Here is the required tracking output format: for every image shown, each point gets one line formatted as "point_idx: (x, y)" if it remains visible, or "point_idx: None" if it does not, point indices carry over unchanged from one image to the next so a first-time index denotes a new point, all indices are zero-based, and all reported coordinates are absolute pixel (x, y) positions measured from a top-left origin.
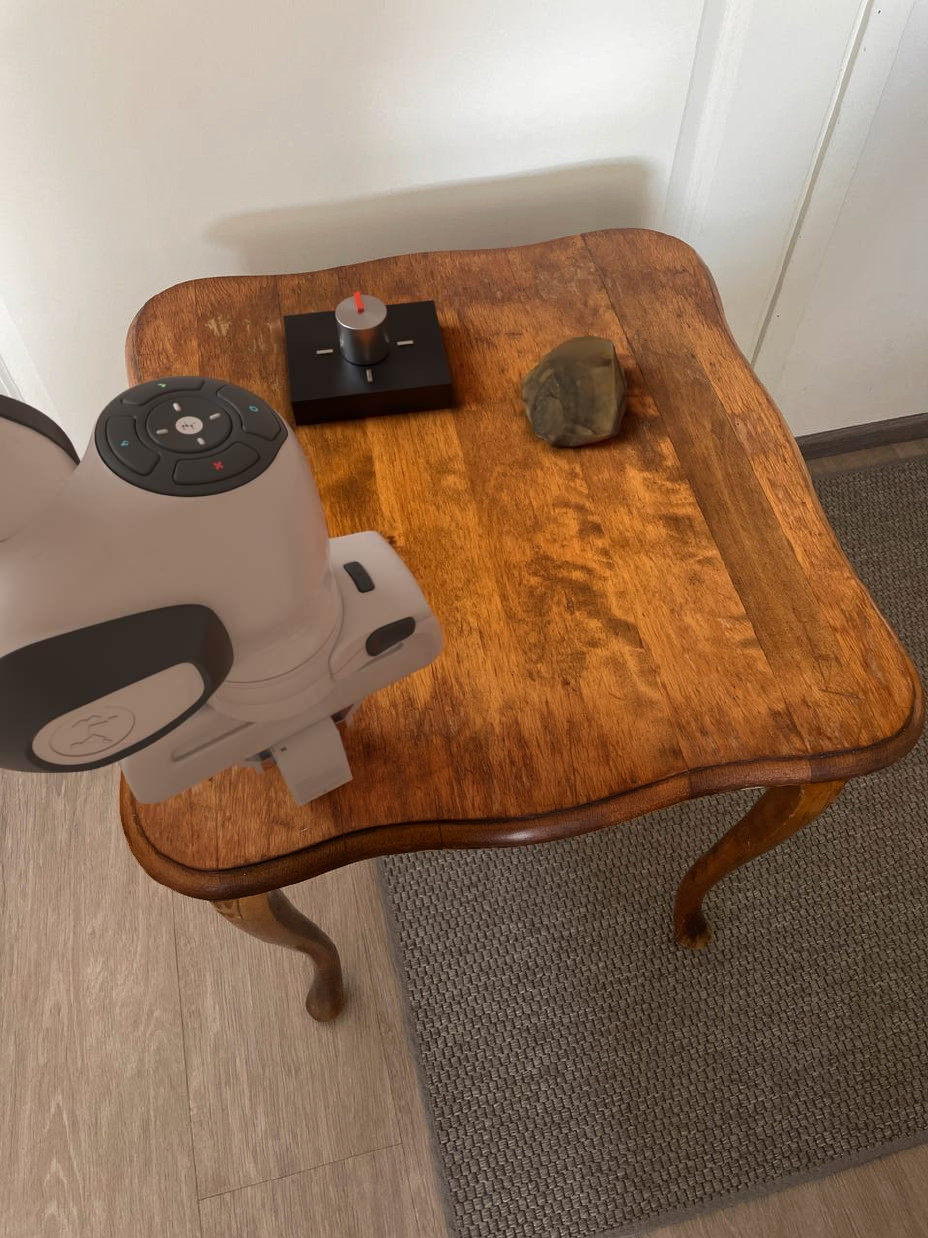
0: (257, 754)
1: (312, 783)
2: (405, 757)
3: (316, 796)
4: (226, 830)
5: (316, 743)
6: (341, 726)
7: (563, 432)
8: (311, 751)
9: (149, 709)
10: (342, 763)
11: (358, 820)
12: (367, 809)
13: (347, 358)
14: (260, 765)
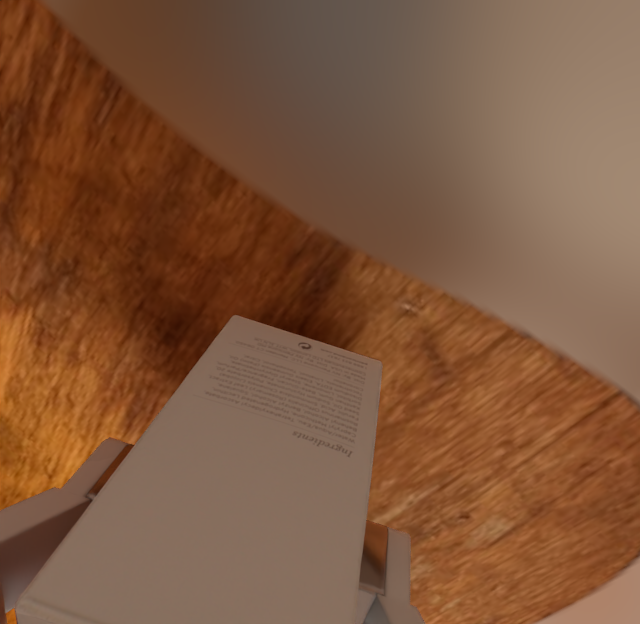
0: (371, 619)
1: (310, 405)
2: (113, 257)
3: (330, 351)
4: (533, 431)
5: None
6: None
7: None
8: (192, 605)
9: None
10: (195, 391)
11: (295, 226)
12: (260, 230)
13: None
14: (388, 580)
